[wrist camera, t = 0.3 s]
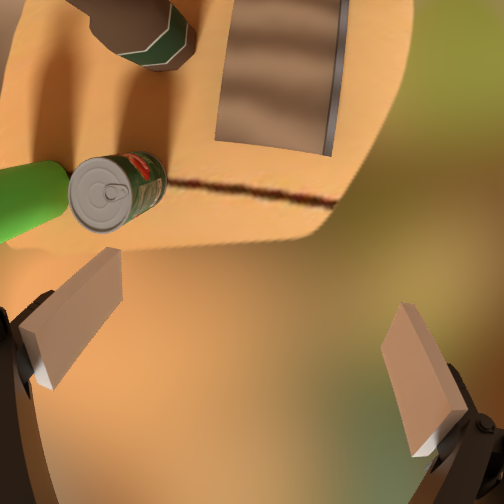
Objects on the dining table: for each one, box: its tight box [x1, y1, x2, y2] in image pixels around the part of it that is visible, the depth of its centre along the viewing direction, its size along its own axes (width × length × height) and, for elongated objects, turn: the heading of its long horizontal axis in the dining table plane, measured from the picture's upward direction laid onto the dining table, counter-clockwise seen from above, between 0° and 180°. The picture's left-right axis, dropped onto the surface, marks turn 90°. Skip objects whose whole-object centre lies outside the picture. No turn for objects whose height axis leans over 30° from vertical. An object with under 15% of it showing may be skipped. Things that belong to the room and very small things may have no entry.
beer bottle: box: [66, 0, 196, 72], centre depth 22 cm, size 8×8×24 cm
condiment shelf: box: [215, 0, 349, 157], centre depth 31 cm, size 26×13×4 cm, turn 173°
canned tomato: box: [68, 151, 167, 234], centre depth 35 cm, size 8×8×11 cm
